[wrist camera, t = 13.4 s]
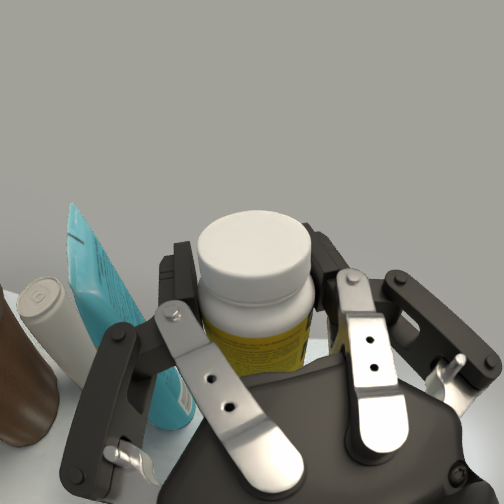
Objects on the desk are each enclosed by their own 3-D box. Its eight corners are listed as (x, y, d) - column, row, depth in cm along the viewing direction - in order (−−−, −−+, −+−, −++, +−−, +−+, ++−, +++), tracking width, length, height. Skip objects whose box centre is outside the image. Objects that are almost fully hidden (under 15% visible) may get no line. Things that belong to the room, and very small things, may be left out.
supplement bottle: (313, 391, 14) (347, 270, 8) (223, 411, 13) (188, 300, 8) (287, 323, 17) (295, 198, 12) (210, 339, 17) (183, 214, 11)
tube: (133, 388, 24) (33, 218, 12) (175, 368, 26) (107, 186, 15) (166, 451, 19) (26, 303, 8) (213, 427, 21) (143, 251, 10)
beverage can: (97, 402, 22) (29, 327, 15) (69, 378, 24) (7, 302, 17) (123, 369, 26) (71, 286, 19) (95, 349, 28) (44, 268, 20)
